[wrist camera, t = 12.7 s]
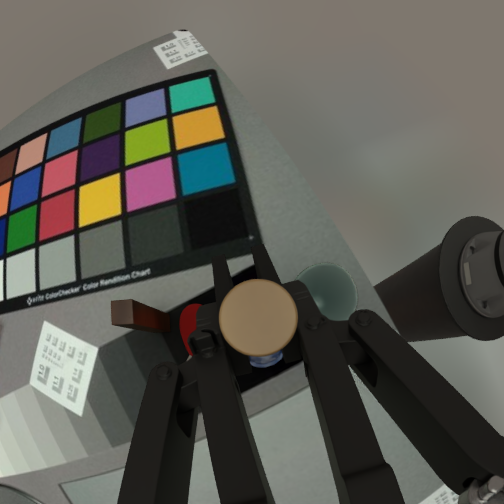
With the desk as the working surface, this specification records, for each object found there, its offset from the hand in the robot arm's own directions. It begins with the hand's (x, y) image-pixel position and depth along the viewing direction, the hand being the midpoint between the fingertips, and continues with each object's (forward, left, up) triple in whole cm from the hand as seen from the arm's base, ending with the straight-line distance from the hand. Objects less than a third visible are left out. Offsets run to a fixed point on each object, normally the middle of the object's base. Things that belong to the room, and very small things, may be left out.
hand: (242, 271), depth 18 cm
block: (+14, 0, -27) cm, 30 cm away
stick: (-1, +4, -8) cm, 9 cm away
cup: (-8, 0, -27) cm, 28 cm away
